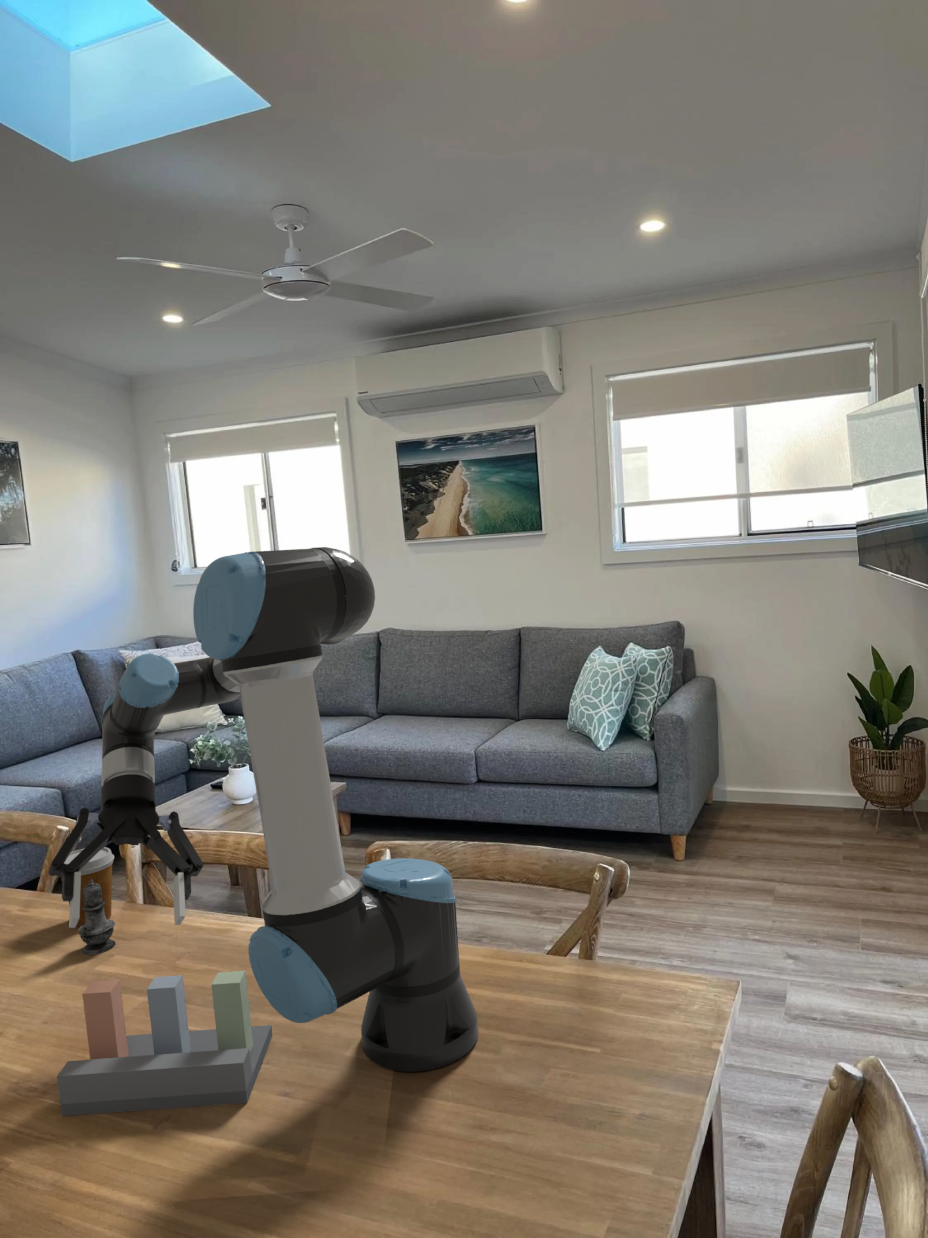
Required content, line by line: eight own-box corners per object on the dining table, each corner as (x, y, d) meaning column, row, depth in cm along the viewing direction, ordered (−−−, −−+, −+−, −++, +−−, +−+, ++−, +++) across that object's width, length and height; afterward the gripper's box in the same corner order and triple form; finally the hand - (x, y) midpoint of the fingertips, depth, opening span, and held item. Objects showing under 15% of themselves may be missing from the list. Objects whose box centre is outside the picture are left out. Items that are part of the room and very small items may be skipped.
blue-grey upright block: (190, 1050, 113) (182, 975, 112) (183, 1064, 110) (175, 987, 109) (163, 1051, 113) (155, 977, 112) (155, 1065, 110) (146, 989, 109)
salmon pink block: (128, 1054, 113) (119, 979, 112) (119, 1068, 110) (110, 992, 109) (101, 1056, 113) (92, 981, 112) (91, 1070, 110) (82, 994, 109)
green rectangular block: (253, 1045, 113) (245, 970, 112) (247, 1059, 110) (239, 982, 109) (225, 1047, 113) (218, 972, 112) (219, 1061, 110) (211, 984, 109)
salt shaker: (104, 956, 146) (95, 886, 145) (72, 955, 147) (63, 885, 146) (124, 939, 151) (116, 872, 150) (93, 939, 153) (85, 871, 152)
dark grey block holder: (272, 1035, 118) (268, 1000, 118) (247, 1103, 104) (243, 1063, 104) (108, 1047, 118) (104, 1012, 118) (61, 1116, 104) (56, 1076, 104)
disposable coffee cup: (67, 914, 164) (60, 851, 163) (122, 904, 167) (115, 842, 166) (61, 935, 155) (52, 869, 154) (118, 924, 158) (111, 859, 157)
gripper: (204, 802, 140) (212, 931, 127) (32, 795, 128) (21, 937, 115) (218, 776, 136) (228, 907, 123) (41, 766, 123) (31, 910, 110)
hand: (128, 922), depth 119 cm, fingers open, 13 cm apart
